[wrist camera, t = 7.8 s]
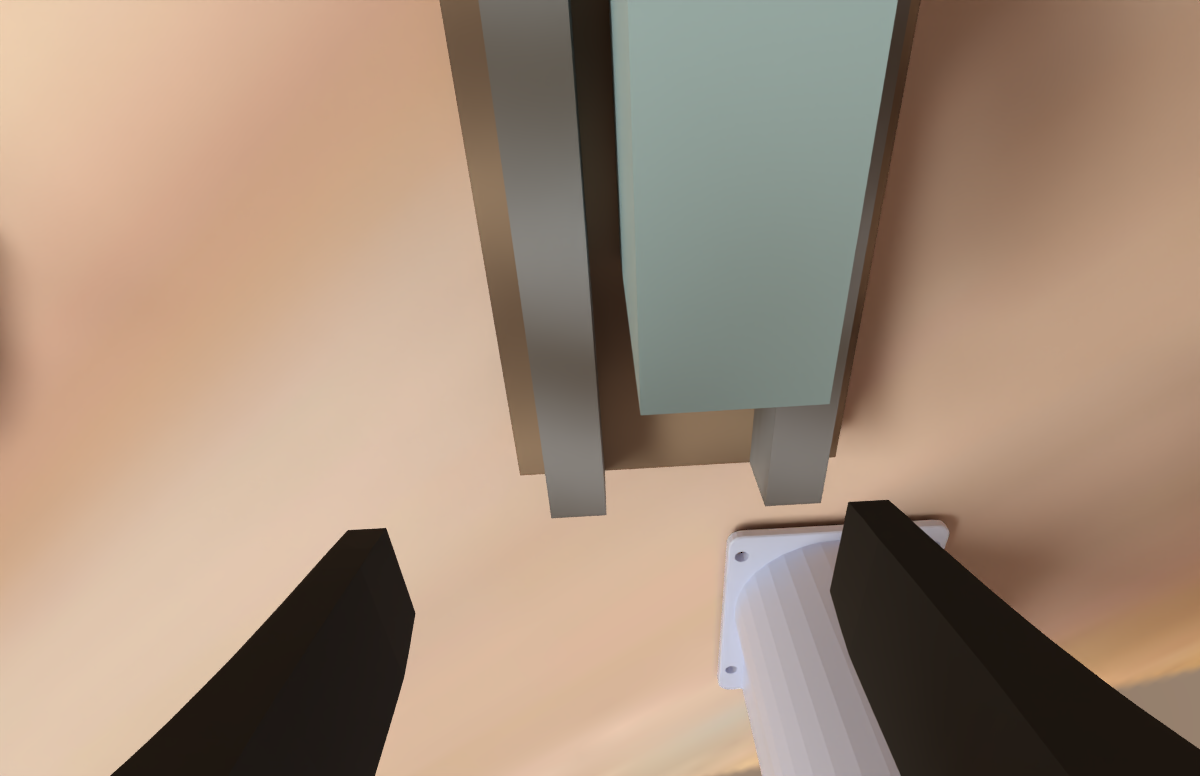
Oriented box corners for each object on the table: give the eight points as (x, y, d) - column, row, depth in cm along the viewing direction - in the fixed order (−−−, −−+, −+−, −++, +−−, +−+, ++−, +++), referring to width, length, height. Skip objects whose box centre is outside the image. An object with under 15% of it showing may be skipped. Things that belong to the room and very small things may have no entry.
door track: (822, 434, 20) (858, 500, 18) (523, 452, 20) (513, 520, 18) (1035, -829, 8) (1244, -1220, 6) (326, -764, 9) (210, -1109, 6)
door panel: (594, -307, 10) (604, -728, 4) (772, -321, 10) (1027, -766, 4) (620, 259, 16) (640, 415, 10) (737, 252, 16) (829, 404, 10)
